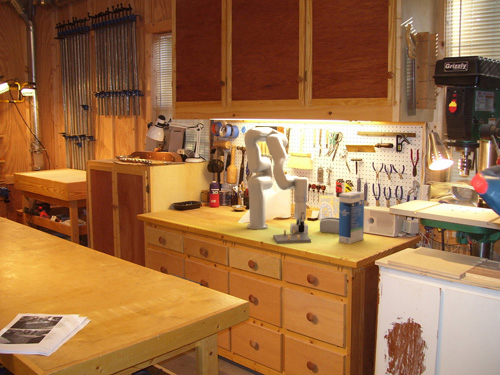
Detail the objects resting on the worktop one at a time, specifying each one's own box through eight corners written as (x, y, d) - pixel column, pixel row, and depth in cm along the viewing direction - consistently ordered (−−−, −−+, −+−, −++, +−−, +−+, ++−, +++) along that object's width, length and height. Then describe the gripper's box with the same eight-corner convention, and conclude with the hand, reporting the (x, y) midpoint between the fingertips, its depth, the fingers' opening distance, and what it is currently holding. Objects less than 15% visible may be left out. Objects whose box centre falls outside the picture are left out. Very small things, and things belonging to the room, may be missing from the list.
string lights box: (352, 237, 280) (353, 190, 276) (364, 239, 274) (365, 192, 271) (338, 241, 270) (338, 193, 267) (350, 244, 265) (351, 195, 262)
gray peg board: (273, 237, 282) (273, 230, 281) (305, 236, 284) (305, 229, 283) (277, 243, 268) (277, 236, 267) (310, 242, 270) (310, 234, 269)
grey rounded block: (349, 232, 293) (348, 216, 289) (347, 236, 290) (346, 221, 285) (322, 229, 301) (320, 214, 297) (319, 233, 297) (317, 218, 293)
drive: (291, 234, 286) (292, 225, 285) (290, 232, 291) (290, 223, 290) (307, 234, 287) (308, 225, 286) (306, 232, 292) (306, 223, 291)
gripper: (291, 196, 294) (290, 227, 297) (297, 202, 277) (296, 234, 280) (304, 196, 295) (303, 227, 298) (311, 202, 278) (310, 234, 281)
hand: (300, 230), depth 289 cm, fingers closed on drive, 5 cm apart
